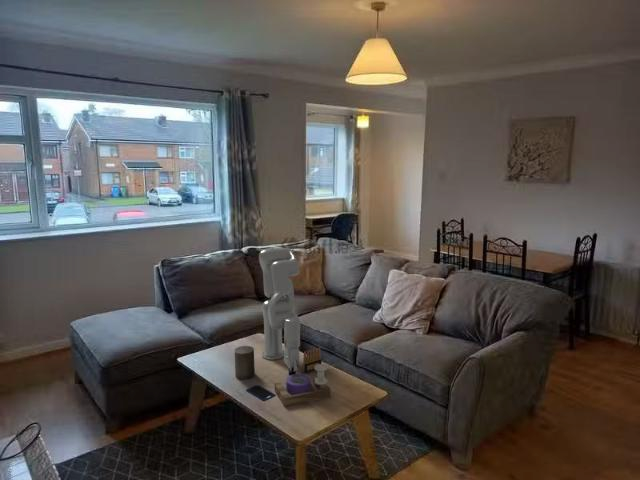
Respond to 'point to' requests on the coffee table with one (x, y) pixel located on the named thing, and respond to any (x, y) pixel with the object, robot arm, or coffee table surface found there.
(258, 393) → the cell phone
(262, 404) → the coffee table surface
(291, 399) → the u-shaped wooden bracket
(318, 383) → the doorknob
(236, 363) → the pillar candle
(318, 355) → the ammunition clip
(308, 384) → the tape roll
